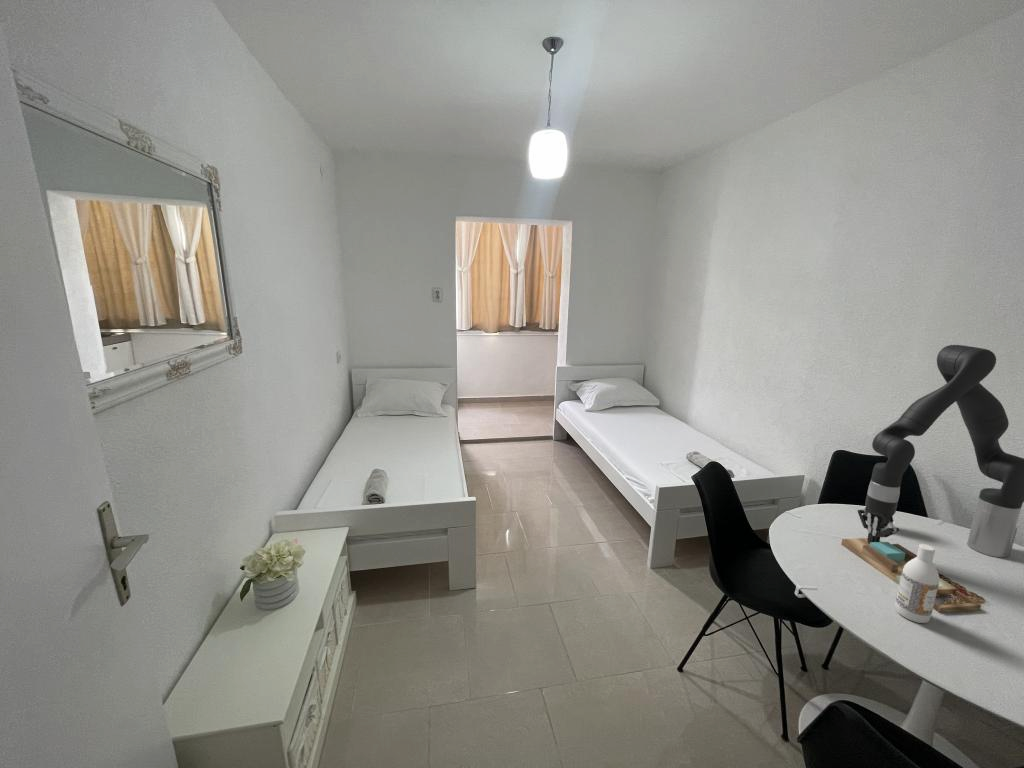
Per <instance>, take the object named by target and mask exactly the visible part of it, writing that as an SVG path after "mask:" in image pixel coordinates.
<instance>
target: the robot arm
mask: <svg viewBox="0 0 1024 768" xmlns="http://www.w3.org/2000/svg"><path fill="white" fill-rule="evenodd" d="M936 365H937V366H936V367H937V368H938V371H939V373H940V374H941V376H942V377H943V379H944V381H945V384H944V385H943V386H941V387H939V388H937V389H936V390H934V391H932V392H929V393H928V394H925V395H923V396H921V397H920V398H918V399H916V400H914V402H913V403H911V405H909V406H908V407H907V409H906V410H905V411H904V412H903V413H902V414H901V416H900V417H899V418H898V419H897V420H896V421H894V422H893V423H891V424H889V425H888V426H887V427H885V428H883V429H882V430H881V431H880V432H878V433H877V434H876V435H875V436H874V438H873V441H872V444H871V445H872V449H873V451H874V452H875V453H877V454H879V455H881V456H884V457H885V458H887V461H886V462H877V463H876V464H874V467H873V469H872V473H871V474H872V475H871V478H870V482H869V485H868V489H867V494H866V497H865V503H864V506H865V508H864V509H857V513H858V516H859V519H860V522H861V525H862V526H863V529H866V530H867V533H868V535H867V537H866V538H867V541H868V544H870V542H880V541H881V538H888V537H890V536H893V535H894V534H896V533H898V532H900V528H899V527H895V525H894V518H893V516H894V515H895V514H896V513H897V507H898V502H899V498H900V494H901V491H900V490H901V485H902V479H903V475H904V474H905V472H906V471H907V469H908V467H909V465H910V464H911V463H912V461H913V459H914V458H915V454H916V450H915V446H914V444H913V443H912V442H911V441H910V440H907V439H906V438H907V437H909V436H913V437H921V436H923V435H924V434H925V433H926V432H927V431H928V430H929V429H930V428H931V426H932V425H934V423H935V422H936V421H937V419H939V418H940V417H941V416H942V414H943V413H944V412H945V411H946V410H948V409H949V408H950V407H951V406H952V405H953V404H954V403H956V404H957V407H958V410H959V412H960V414H961V418H962V420H963V422H964V425H965V427H966V429H967V432H968V434H969V436H970V439H971V442H972V446H973V448H974V452H975V458H976V463H977V465H978V469H979V471H980V472H981V474H982V475H984V476H986V477H988V478H989V479H992V480H994V481H997V482H999V483H1000V482H1001V483H1002V485H1001V486H1000V487H1001V488H993V487H990V488H989V487H988V488H987V487H986V488H982V489H981V490H980V492H979V495H978V498H977V499H978V500H977V502H976V503H977V504H976V507H975V510H974V514H973V518H972V523H971V526H970V530H969V535H968V537H967V538H968V539H967V543H966V545H967V546H968V547H969V548H971V549H973V550H974V551H977V552H979V553H980V554H984V555H987V556H990V557H991V556H992V557H995V558H1007V557H1009V555H1011V553H1012V549H1013V546H1014V541H1015V538H1016V534H1017V531H1018V527H1017V524H1018V521H1019V518H1020V513H1021V509H1022V507H1023V504H1024V457H1020V456H1017V455H1014V454H1010V453H1008V452H1006V451H1004V450H1003V449H1002V447H1001V445H1000V441H999V439H1000V438H1001V437H1002V436H1003V435H1005V432H1006V431H1007V429H1008V428H1009V426H1010V425H1009V424H1010V423H1009V418H1008V415H1007V412H1006V411H1005V408H1004V406H1003V404H1002V403H1001V402H1000V400H999V399H998V398H997V397H996V396H995V395H994V394H993V393H992V392H990V391H989V390H988V389H987V388H986V387H984V386H983V384H982V383H981V382H982V381H983V380H984V379H985V378H987V377H988V375H989V374H990V373H991V372H993V370H994V369H995V366H996V365H997V357H996V355H995V353H994V352H993V351H992V350H989V349H986V348H982V347H977V346H970V345H962V344H949V345H946V346H944V347H942V348H941V349H940V350H939V352H938V354H937V357H936Z"/></svg>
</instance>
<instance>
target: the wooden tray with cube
mask: <svg viewBox="0 0 1024 768" xmlns="http://www.w3.org/2000/svg"><path fill="white" fill-rule="evenodd" d="M867 538H868V537H864V538H863V537H861V538H842V540H841V545H842V546H843V547H844V548H846V549H847V550H849V551H850V552H852V553H853V554H854V555H855V556H857V557H858V558H859V559H861V560H863V561H865V563H867V564H869V565H870V566H871V567H872V568H874V569H876V570H877V571H879V572H880V573H881V574H882V575H884V576H886V577H887V578H889V579H890V580H892V582H895V583H896V584H897V585H899V584H900V580H901V575H902V571H903V568H904V566H905V565H906V563H907V562H909V561H910V560H912V559H914V558H916V557H917V554H916V553H914V552H912V551H911V550H909V549H907V548H906V547H904V546H902V545H900V544H899V543H891V544H892V545H894V546H895V547H897V548H898V549H900V550H902V551H903V552H905V558H904V562H894V561H893V560H891V559H889V558H888V557H886V556H885V555H883V554H882V553H880V552H879V551H877V550H876V549H874V548H873V547H871V546H870V544H868V541H867ZM880 542H883V541H881V540H880ZM948 594H953V595H955V596H957V598H956V599H957V600H959V599H961V600H963V601H965V602H967V603H963V604H950V603H949V604H947V605H944V600H945V601H946V602H947V603H948V602H950V601H951V595H948ZM936 595H939V596H936V598H935V602H934V606H933V610H935V612H938V613H940V614H941V613H953V612H955V613H956V612H957V613H958V612H970V611H971V612H972V611H981V608H982V604H980V603H979V602H977V601H975V600H974V599H972V598H970V597H969V596H968V595H966V594H964V593H962V592H961V591H959V590H958V588H957V587H955V586H954V585H952V584H950V583H948V581H946V580H944V579H942V578H941V577H939V585H938V589H937V593H936ZM943 599H944V600H943ZM952 600H953V597H952Z"/></svg>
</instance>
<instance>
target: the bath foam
mask: <svg viewBox="0 0 1024 768" xmlns="http://www.w3.org/2000/svg"><path fill="white" fill-rule="evenodd" d="M917 550H918V551H917V554H916V555H917V557H916V558H914V559H912V560H910V561H909V562H907V563H906V565H905V566H904V568H903V571H902V575H901V580H900V584H898V590H897V593H896V594H897V595H896V599H895V602H894V610H895V611H896V612H897V613H898V614H899V615H900V616H902V617H904V618H905V619H906V620H909V621H911V622H914V623H918V624H927V623H929V622H930V619H931V616H932V615H933V610H934V609H933V606H934V602H935V598H936V593H937V589H938V585H939V578H940V575H939V571H938V570H937V567H936V566H935V564H934V563H933V561H934V555H935V552H936V548H934V547H933V546H931V545H928V544H925V543H921V544H919V546H918V549H917Z"/></svg>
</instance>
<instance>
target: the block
mask: <svg viewBox="0 0 1024 768" xmlns="http://www.w3.org/2000/svg"><path fill="white" fill-rule="evenodd" d="M892 544H893V543H891V542H889V541H882V542H870V546H871V547H873V548H874V549H876V550H877V551H879V552H880V553H882V554H883V555H885V556H886V557H888V558H889V559H891V560H893V561H894V562H904V558H905V552H903V551H902V550H900V549H898V548H897V547H895V546H894V545H892Z"/></svg>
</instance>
